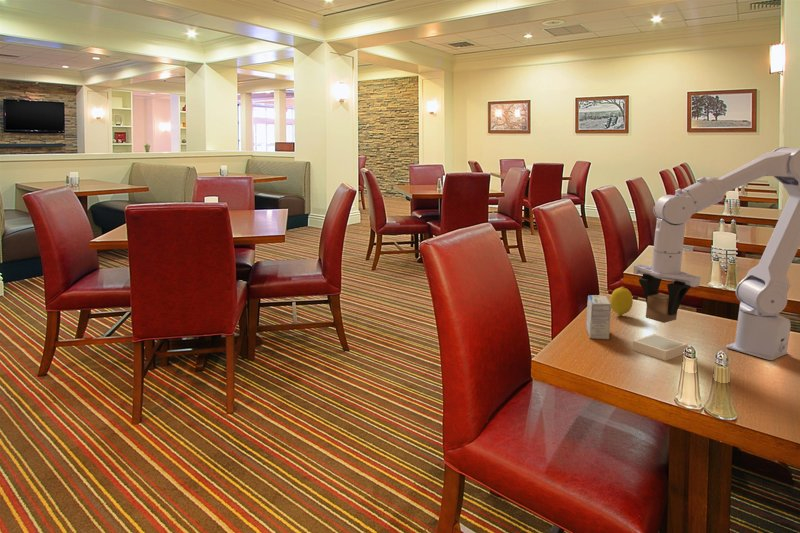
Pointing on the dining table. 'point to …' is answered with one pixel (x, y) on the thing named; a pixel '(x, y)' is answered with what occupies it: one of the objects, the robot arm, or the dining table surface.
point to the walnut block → (659, 308)
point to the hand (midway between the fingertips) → (661, 311)
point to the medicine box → (598, 317)
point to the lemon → (621, 301)
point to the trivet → (659, 346)
